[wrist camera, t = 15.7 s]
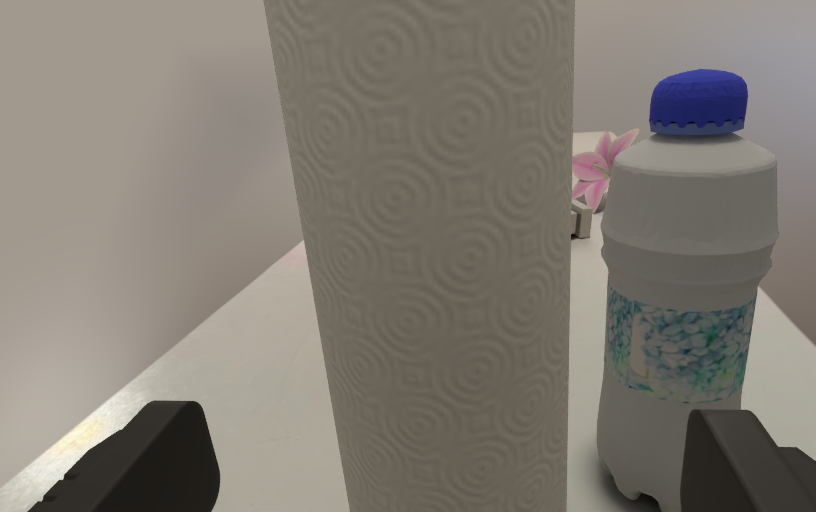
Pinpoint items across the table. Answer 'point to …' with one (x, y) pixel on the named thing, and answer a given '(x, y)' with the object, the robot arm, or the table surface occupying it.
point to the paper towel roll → (437, 240)
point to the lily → (598, 167)
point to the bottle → (681, 276)
